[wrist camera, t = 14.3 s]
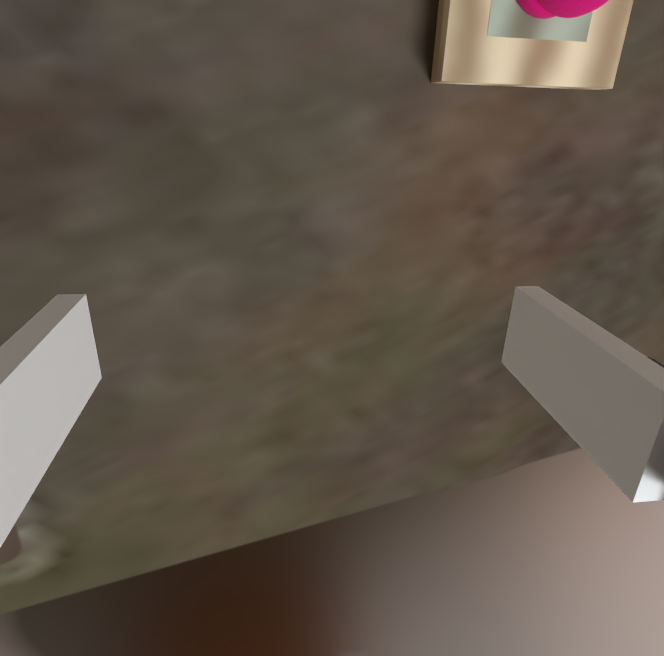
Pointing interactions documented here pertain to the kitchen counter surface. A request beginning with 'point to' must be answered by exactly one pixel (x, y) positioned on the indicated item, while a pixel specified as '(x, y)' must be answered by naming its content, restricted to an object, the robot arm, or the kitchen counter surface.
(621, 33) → the base plate
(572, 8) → the pepper mill
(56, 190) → the kitchen counter surface
